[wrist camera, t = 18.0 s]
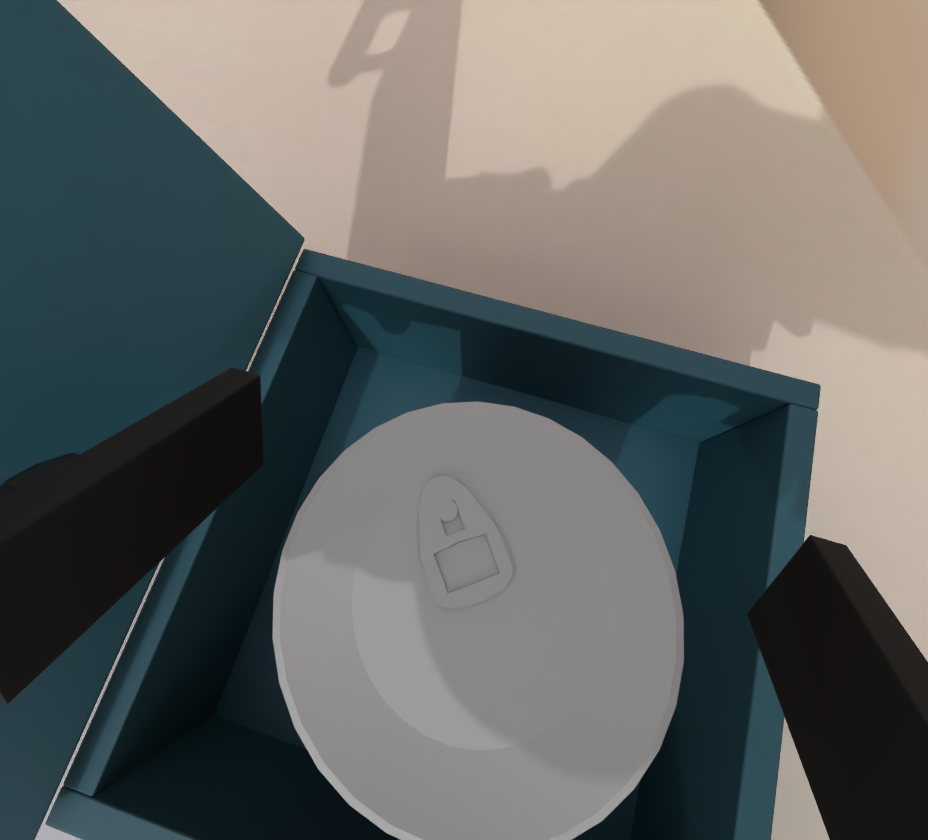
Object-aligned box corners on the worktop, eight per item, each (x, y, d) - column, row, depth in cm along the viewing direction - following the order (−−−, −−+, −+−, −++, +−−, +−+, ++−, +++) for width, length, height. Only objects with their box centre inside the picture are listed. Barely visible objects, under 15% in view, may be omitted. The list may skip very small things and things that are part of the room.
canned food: (488, 440, 20) (508, 328, 10) (607, 595, 19) (787, 663, 8) (342, 546, 19) (187, 549, 9) (454, 722, 18) (430, 991, 7)
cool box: (712, 434, 21) (822, 384, 15) (635, 885, 17) (742, 1105, 10) (351, 333, 23) (303, 247, 16) (196, 724, 19) (43, 825, 12)
